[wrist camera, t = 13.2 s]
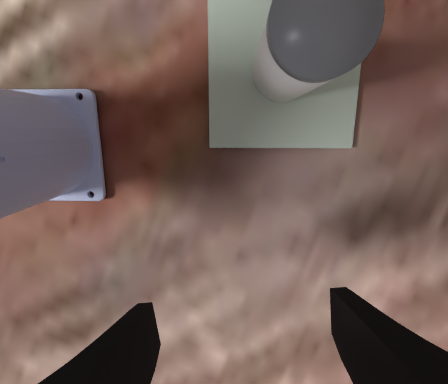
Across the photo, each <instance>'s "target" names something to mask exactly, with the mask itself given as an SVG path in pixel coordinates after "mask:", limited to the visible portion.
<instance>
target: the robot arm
mask: <svg viewBox="0 0 448 384" xmlns="http://www.w3.org/2000/svg"><path fill="white" fill-rule="evenodd" d="M79 94H82V95H83V99H82V100H80V99H79ZM90 191H92V192H93V193H94V197H93V196H91V195H90ZM105 196H106V189H105V180H104V170H103V161H102V151H101V141H100V132H99V122H98V112H97V103H96V96H95V93H94V92H93V91H91V90H89V89H3V88H0V218H3V217H5V216H8V215H11V214H13V213H16V212H19V211H21V210H24V209H26V208H29V207H32V206H34V205H37V204H40V203H42V202H45V201H47V200H52V201H101V200H103V199H104V198H105ZM330 303H331V332H332V335H333V338H334V341H335V344H336V347H337V349H338V352H339V355H340V357H341V360H342V362H343V364H344V366H345V368H346V370H347V372H348V374H349V376H350V378H351V380H352V382H353V384H448V352H447V351H445V350H443V349H441V348H440V347H438V346H436V345H434V344H432V343H430V342H429V341H427V340H425V339H423V338H422V337H420V336H418V335H417V334H415V333H414V332H412V331H410V330H409V329H407V328H405V327H404V326H402V325H401V324H399V323H397V322H396V321H394V320H393V319H391V318H390V317H388V316H387V315H385V314H384V313H382V312H381V311H380V310H378V309H377V308H375V307H374V306H372V305H371V304H369V303H368V302H367V301H365V300H364V299H362V298H361V297H360V296H358V295H357V294H355V293H354V292H353V291H351V290H350V289H348V288H347V287H340V288H330ZM160 345H161V343H160V338H159V334H158V329H157V324H156V319H155V314H154V309H153V304H152V302H150V303H138V304H137V305H135V306H134V307H133V308H132V309H130V310H129V311H128V312H127V313H126V314H125V315H124V316H122V317H121V318H120V319H119V320H118V321H117V322H116V323H115V324H113V325H112V326H111V327H110V328H109V329H108V330H107V331H105V332H104V333H103V334H102V335H101V336H100V337H99V338H97V339H96V340H95V341H94V342H93V343H91V344H90V345H89V346H88V347H86V348H85V349H84V350H83V351H81V352H80V353H79V354H78V355H77V356H75V357H74V358H73V359H72V360H70V361H69V362H68V363H66V364H65V365H64V366H62V367H61V368H60V369H58V370H57V371H55V372H54V373H52V374H51V375H50V376H48V377H47V378H45V379H44V380H43V381H41V382H40V383H38V384H150V383H151V380H152V377H153V374H154V371H155V367H156V363H157V359H158V355H159V350H160Z"/></svg>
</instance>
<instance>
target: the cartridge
mask: <svg viewBox="0 0 448 384" xmlns="http://www.w3.org/2000/svg"><path fill="white" fill-rule="evenodd" d="M384 12H385V7H384V0H272V3H271V6H270V10H269V13H268V16H267V20H266V23H265V26H264V29H263V33H262V36H261V39H260V43H259V46H258V49H257V53H256V56H255V59H254V62H253V68H252V76H253V81H254V84H255V86H256V88H257V90H258V91H259V93H260V94H261V95H262V96H264V97H265V98H266V99H268V100H270V101H273V102H279V103H282V102H289V101H292V100H294V99H296V98H298V97H300V96H302V95H304V94H306V93H308V92H310V91H312V90H314V89H315V88H317V87H319V86H321V85H323V84H325V83H327V82H329V81H331V80H333V79H335V78H337V77H339V76H341V75H343V74H345V73H347V72H349V71H350V70H352V69H353V68H355V67H356V66H357V65H359V64H360V63H361V62H362V61H363V60H364V59H365V58H366V57H367V56H368V54H369V53H370V52H371V51H372V49H373V47H374V46H375V44H376V42H377V40H378V38H379V35H380V33H381V29H382V26H383V21H384Z"/></svg>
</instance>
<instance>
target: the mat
mask: <svg viewBox="0 0 448 384" xmlns="http://www.w3.org/2000/svg"><path fill="white" fill-rule="evenodd" d="M271 3H272V0H208V63H209V146H210V148H352V144H353V135H354V126H355V116H356V107H357V98H358V89H359V80H360V70H361V63H360V64H359V65H357V66H356V67H355V68H353V69H352V70H350V71H349V72H347V73H345V74H343V75H341V76H339V77H337V78H335V79H333V80H331V81H329V82H327V83H325V84H323V85H321V86H319V87H317V88H315V89H314V90H312V91H310V92H308V93H306V94H304V95H302V96H300V97H298V98H296V99H294V100H292V101H289V102H282V103H279V102H273V101H270V100H268V99H266V98H265V97H264V96H262V95H261V94H260V93H259V91H258V90H257V88H256V86H255V84H254V81H253V76H252V68H253V62H254V59H255V56H256V53H257V49H258V46H259V43H260V39H261V36H262V33H263V29H264V26H265V23H266V20H267V16H268V13H269V10H270V6H271Z"/></svg>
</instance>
